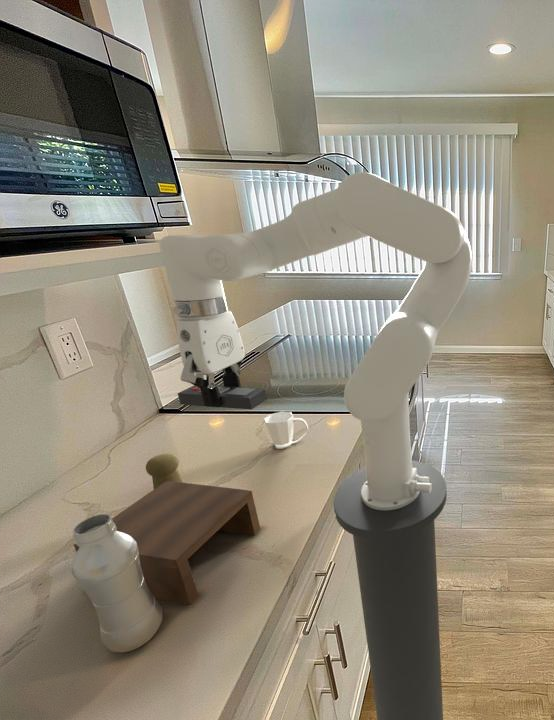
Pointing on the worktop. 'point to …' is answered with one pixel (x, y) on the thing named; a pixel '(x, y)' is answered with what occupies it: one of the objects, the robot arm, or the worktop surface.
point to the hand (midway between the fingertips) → (224, 399)
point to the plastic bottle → (115, 584)
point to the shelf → (182, 531)
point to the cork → (163, 469)
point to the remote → (226, 397)
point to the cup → (282, 428)
